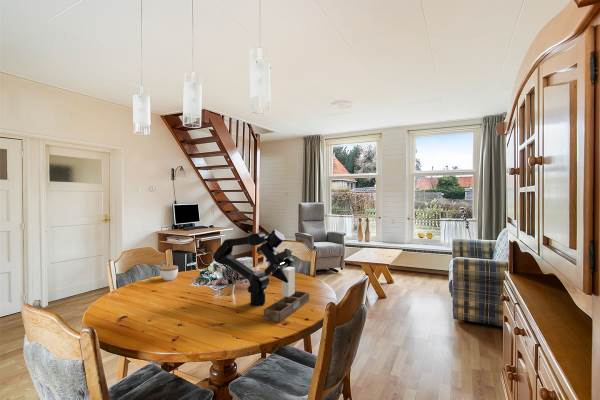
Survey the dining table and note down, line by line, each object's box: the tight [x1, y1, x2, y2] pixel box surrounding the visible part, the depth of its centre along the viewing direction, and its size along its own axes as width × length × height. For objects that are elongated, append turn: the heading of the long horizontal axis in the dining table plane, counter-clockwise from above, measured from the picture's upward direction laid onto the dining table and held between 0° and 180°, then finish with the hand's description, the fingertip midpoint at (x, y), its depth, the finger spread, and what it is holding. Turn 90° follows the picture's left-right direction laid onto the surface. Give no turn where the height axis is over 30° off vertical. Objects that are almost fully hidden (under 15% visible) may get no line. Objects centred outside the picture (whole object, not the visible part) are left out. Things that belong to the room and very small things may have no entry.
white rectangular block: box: [281, 266, 296, 297], centre depth 138 cm, size 4×6×12 cm, turn 153°
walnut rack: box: [263, 290, 310, 323], centre depth 139 cm, size 8×29×4 cm, turn 154°
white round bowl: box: [159, 264, 179, 282], centre depth 189 cm, size 11×11×9 cm
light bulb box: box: [235, 256, 254, 271], centre depth 201 cm, size 11×7×11 cm, turn 141°
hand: (291, 280), depth 138 cm, fingers closed on white rectangular block, 6 cm apart
